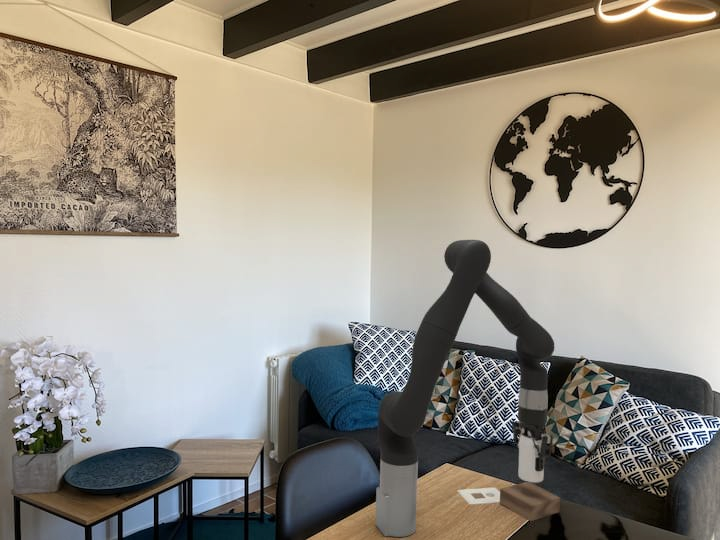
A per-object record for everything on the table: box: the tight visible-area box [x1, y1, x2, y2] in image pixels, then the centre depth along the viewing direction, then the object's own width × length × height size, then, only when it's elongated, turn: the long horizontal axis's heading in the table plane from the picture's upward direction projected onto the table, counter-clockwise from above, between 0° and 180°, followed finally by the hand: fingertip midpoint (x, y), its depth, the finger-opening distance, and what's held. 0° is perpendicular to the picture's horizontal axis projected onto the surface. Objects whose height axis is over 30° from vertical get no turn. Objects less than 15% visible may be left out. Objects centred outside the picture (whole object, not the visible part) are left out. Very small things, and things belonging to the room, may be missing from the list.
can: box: [517, 433, 545, 484], centre depth 147 cm, size 6×6×12 cm
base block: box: [499, 481, 561, 522], centre depth 147 cm, size 11×11×4 cm
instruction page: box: [456, 486, 500, 506], centre depth 154 cm, size 12×9×1 cm
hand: (530, 465), depth 147 cm, fingers closed on can, 6 cm apart
